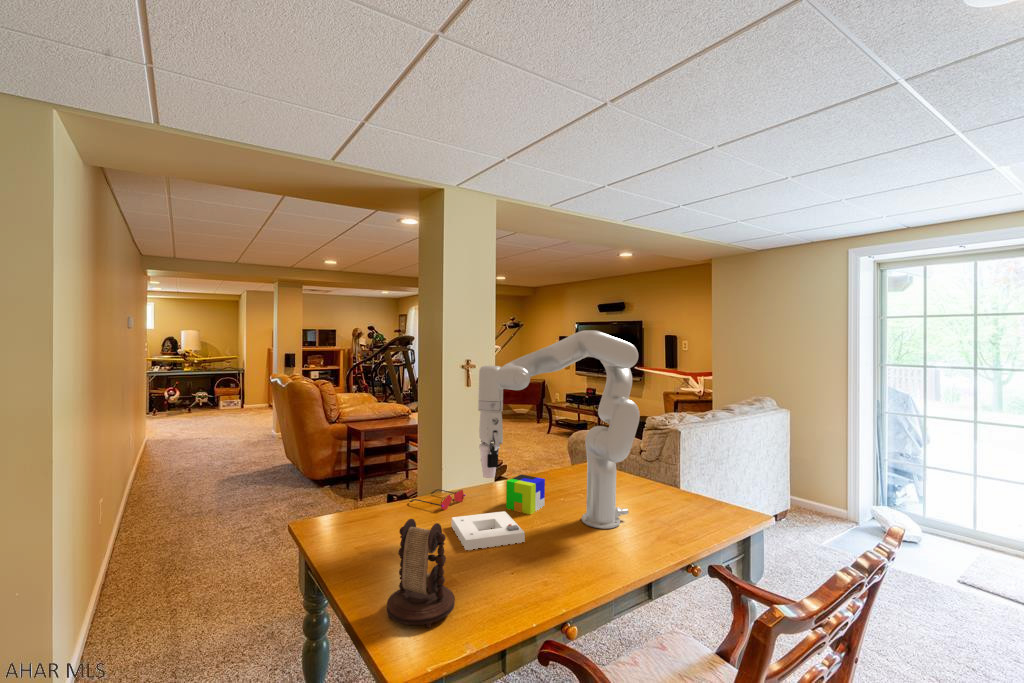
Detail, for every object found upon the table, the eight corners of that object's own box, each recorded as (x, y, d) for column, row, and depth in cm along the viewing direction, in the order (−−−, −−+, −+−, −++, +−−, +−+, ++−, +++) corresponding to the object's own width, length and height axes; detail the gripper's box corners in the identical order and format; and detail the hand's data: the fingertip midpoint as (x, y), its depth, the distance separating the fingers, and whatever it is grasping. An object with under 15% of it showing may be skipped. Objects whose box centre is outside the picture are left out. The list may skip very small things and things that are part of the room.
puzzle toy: (544, 506, 174) (544, 479, 173) (530, 515, 165) (530, 486, 165) (520, 501, 179) (521, 474, 179) (506, 509, 170) (506, 480, 170)
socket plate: (504, 520, 160) (504, 509, 160) (524, 542, 143) (524, 530, 143) (451, 526, 154) (451, 515, 154) (465, 550, 137) (466, 538, 137)
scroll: (372, 622, 102) (373, 528, 102) (410, 588, 116) (412, 506, 116) (433, 638, 97) (434, 540, 97) (465, 601, 111) (467, 515, 110)
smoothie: (502, 474, 150) (502, 429, 150) (494, 480, 144) (495, 433, 144) (483, 472, 152) (483, 428, 152) (475, 477, 146) (475, 431, 146)
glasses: (442, 513, 166) (442, 499, 166) (406, 504, 174) (406, 491, 174) (466, 501, 178) (466, 488, 178) (431, 494, 186) (431, 481, 186)
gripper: (511, 409, 141) (510, 471, 141) (493, 401, 157) (492, 456, 157) (487, 410, 138) (485, 472, 139) (471, 402, 155) (469, 458, 155)
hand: (489, 463), depth 148 cm, fingers closed on smoothie, 6 cm apart
